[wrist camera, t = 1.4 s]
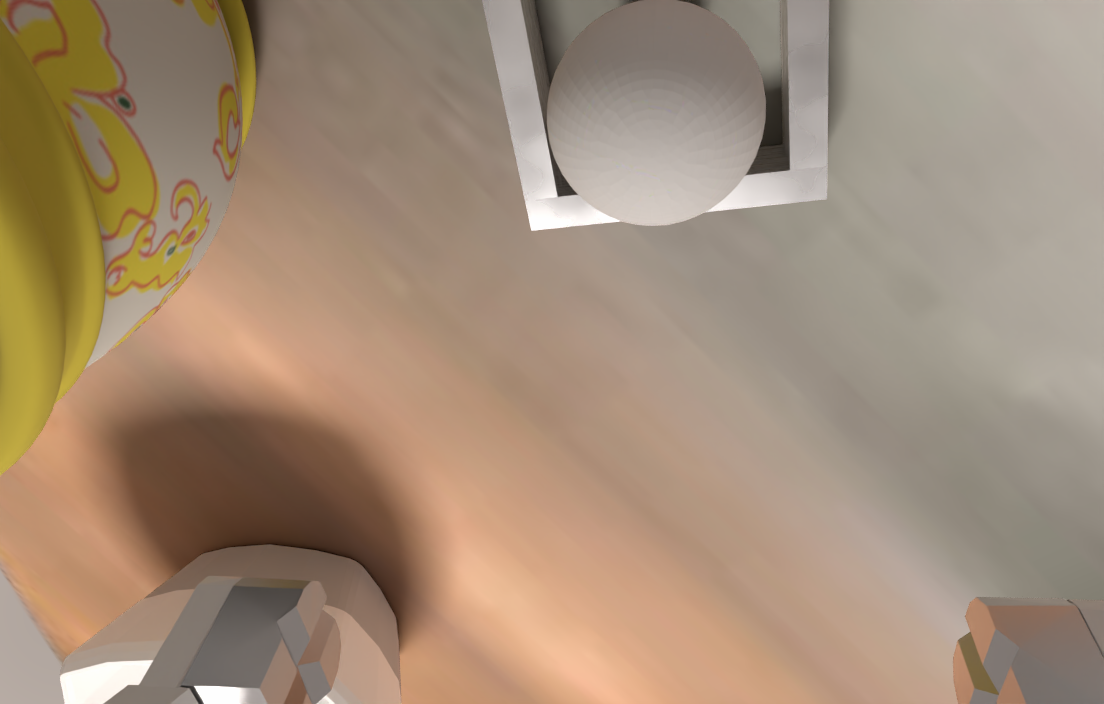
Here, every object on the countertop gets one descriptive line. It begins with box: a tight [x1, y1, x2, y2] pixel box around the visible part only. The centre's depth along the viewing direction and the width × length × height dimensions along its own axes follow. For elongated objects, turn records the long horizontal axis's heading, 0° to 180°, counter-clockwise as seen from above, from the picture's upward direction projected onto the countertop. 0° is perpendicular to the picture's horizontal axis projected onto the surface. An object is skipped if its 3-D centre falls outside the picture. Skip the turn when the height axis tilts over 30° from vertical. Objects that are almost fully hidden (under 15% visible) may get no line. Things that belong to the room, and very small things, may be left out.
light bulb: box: [547, 0, 766, 226], centre depth 24 cm, size 6×6×10 cm
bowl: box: [60, 544, 402, 704], centre depth 46 cm, size 18×18×9 cm
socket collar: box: [482, 0, 829, 231], centre depth 27 cm, size 10×10×2 cm
